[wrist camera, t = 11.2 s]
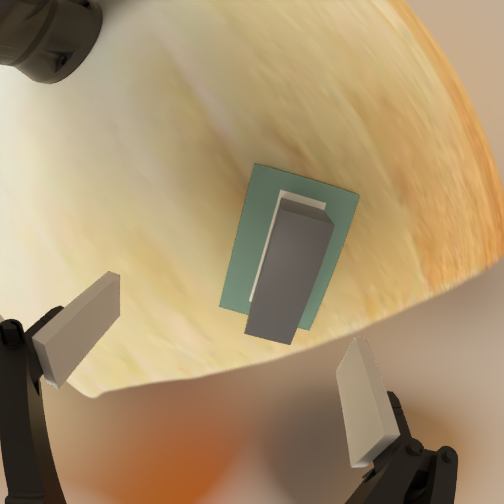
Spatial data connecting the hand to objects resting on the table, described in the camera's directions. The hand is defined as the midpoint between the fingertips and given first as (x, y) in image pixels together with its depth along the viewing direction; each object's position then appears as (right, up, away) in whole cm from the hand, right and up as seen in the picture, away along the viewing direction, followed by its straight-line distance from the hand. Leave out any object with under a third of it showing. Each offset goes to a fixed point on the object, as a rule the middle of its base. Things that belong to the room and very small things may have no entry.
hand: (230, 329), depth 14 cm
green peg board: (+5, +4, +19) cm, 20 cm away
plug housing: (+5, +3, +18) cm, 19 cm away
